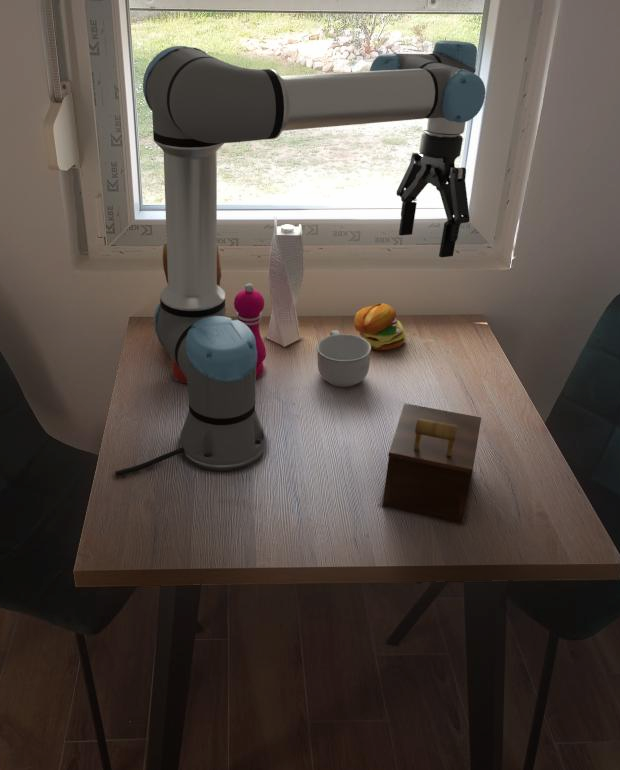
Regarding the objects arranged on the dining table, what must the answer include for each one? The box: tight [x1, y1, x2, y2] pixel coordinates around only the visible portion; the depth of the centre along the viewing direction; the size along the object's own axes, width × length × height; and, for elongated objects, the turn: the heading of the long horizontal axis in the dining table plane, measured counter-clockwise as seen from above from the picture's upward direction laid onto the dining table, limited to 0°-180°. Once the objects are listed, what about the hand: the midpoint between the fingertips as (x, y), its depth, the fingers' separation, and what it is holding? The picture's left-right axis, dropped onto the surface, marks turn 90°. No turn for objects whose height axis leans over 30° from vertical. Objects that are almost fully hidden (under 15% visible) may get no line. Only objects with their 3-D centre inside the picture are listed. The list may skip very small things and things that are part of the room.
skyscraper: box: [266, 214, 305, 348], centre depth 170 cm, size 8×8×28 cm
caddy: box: [382, 456, 473, 525], centre depth 131 cm, size 14×13×11 cm
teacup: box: [316, 329, 372, 388], centre depth 162 cm, size 14×11×8 cm
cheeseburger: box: [354, 302, 407, 351], centre depth 175 cm, size 10×11×10 cm
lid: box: [388, 402, 482, 474], centre depth 126 cm, size 15×13×6 cm
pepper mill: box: [233, 283, 267, 379], centre depth 160 cm, size 7×7×20 cm
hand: (424, 245), depth 155 cm, fingers open, 13 cm apart
